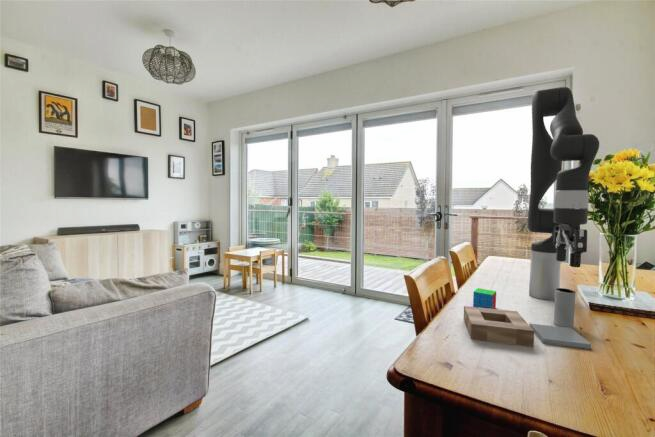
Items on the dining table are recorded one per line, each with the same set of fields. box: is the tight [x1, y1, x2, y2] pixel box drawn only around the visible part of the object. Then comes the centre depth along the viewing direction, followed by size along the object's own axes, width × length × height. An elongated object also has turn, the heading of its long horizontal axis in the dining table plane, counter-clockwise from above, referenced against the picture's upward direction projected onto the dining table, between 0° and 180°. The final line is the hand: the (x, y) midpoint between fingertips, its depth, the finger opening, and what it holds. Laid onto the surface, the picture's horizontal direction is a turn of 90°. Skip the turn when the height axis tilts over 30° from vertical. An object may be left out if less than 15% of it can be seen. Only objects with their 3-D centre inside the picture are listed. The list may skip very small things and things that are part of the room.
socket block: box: [463, 305, 535, 348], centre depth 83 cm, size 14×14×4 cm
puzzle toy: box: [472, 287, 497, 309], centre depth 102 cm, size 6×6×6 cm
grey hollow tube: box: [553, 287, 576, 329], centre depth 88 cm, size 4×4×10 cm
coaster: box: [529, 323, 592, 350], centre depth 80 cm, size 10×10×1 cm
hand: (567, 263), depth 87 cm, fingers open, 8 cm apart
